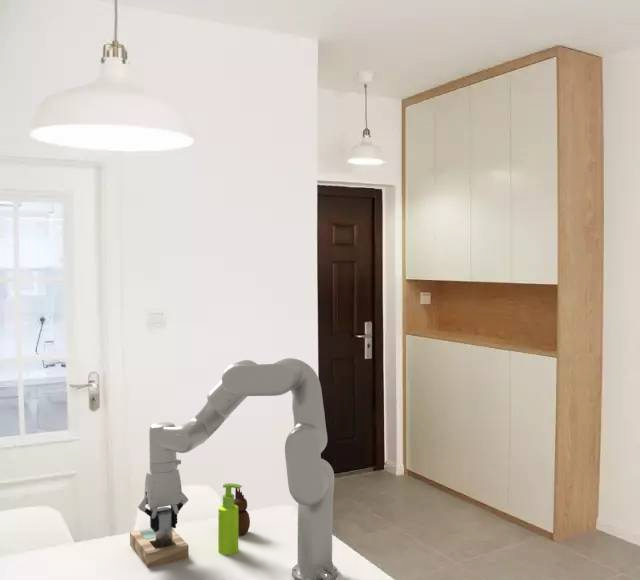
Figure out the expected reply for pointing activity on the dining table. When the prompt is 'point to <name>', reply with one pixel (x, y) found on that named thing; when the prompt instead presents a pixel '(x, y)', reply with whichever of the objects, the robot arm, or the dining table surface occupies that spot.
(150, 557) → the housing
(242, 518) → the wooden figurine
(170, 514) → the grey cylinder
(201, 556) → the dining table surface
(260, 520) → the dining table surface
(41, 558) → the dining table surface
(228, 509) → the soap dispenser
